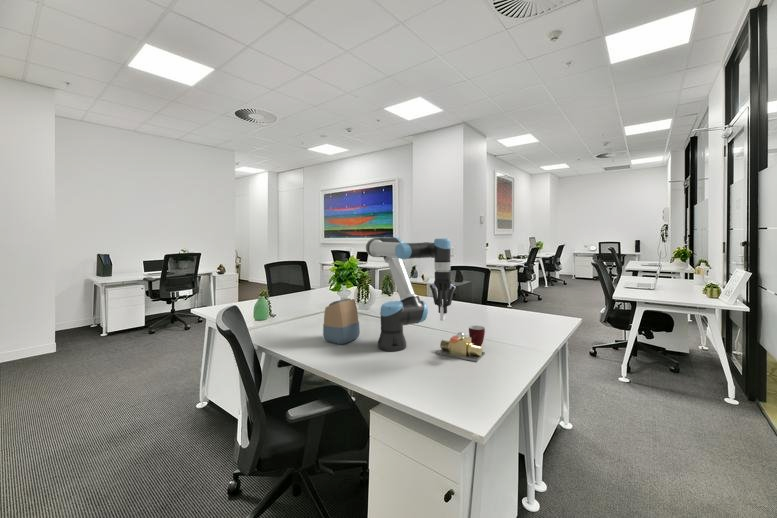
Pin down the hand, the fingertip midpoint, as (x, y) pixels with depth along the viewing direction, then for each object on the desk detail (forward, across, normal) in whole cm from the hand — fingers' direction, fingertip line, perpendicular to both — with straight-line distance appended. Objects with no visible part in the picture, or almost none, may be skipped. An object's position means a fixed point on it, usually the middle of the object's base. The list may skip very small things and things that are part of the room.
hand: (442, 319), depth 163 cm
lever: (+10, +6, +3) cm, 12 cm away
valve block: (+18, +6, +8) cm, 20 cm away
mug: (+18, +9, +22) cm, 30 cm away
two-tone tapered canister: (+18, -60, -5) cm, 62 cm away
